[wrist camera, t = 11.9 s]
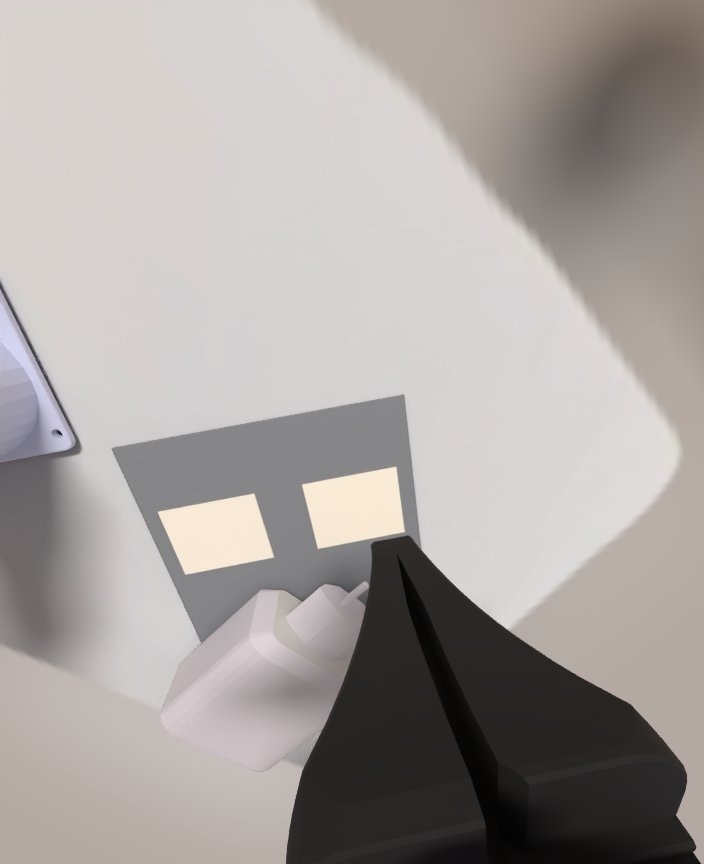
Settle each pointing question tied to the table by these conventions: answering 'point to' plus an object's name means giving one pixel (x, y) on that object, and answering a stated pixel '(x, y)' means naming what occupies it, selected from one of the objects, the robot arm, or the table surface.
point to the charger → (266, 676)
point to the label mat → (275, 503)
